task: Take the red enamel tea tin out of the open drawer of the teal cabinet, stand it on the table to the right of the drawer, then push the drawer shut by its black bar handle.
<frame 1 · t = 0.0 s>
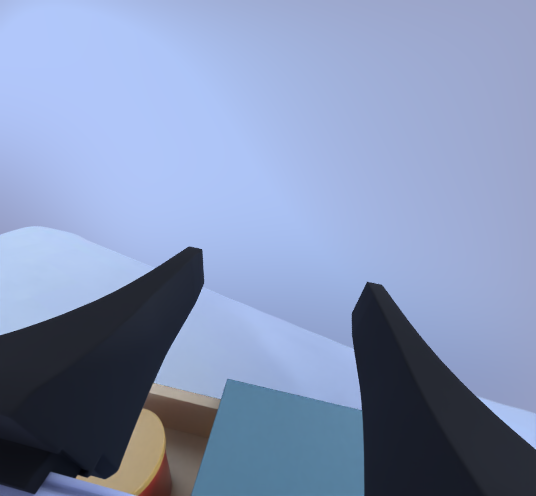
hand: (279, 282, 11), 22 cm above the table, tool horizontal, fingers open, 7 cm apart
tea tin: (140, 494, 19), point 2 cm above the table, touching drawer
drawer: (115, 478, 18), point 4 cm above the table, slide at 9.0 cm, touching tea tin
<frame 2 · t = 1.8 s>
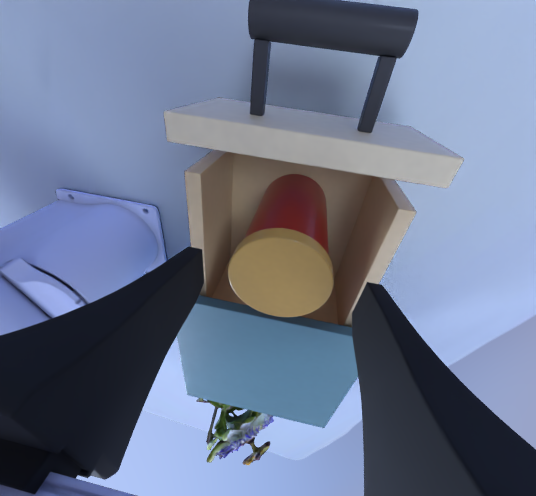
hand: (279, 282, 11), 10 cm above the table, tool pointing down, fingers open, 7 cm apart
tea tin: (294, 204, 17), point 2 cm above the table, touching drawer
drawer: (295, 197, 15), point 4 cm above the table, slide at 9.0 cm, touching tea tin
cabinet: (276, 294, 26), on the table
passion flower: (243, 381, 38), on the table
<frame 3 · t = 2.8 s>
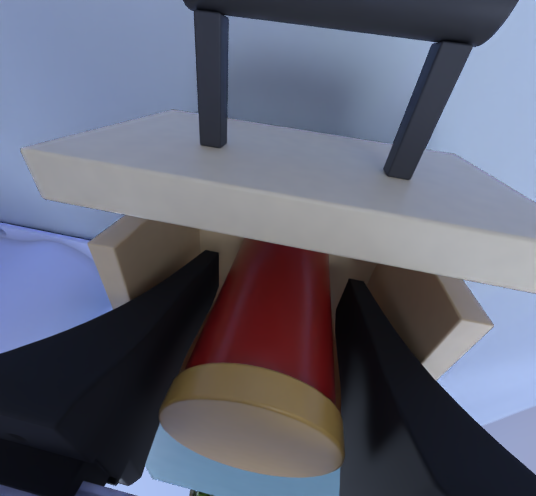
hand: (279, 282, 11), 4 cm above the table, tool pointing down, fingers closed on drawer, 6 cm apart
tea tin: (284, 255, 13), point 2 cm above the table, touching drawer
drawer: (283, 258, 10), point 4 cm above the table, slide at 9.0 cm, touching gripper, tea tin
cabinet: (266, 346, 21), on the table
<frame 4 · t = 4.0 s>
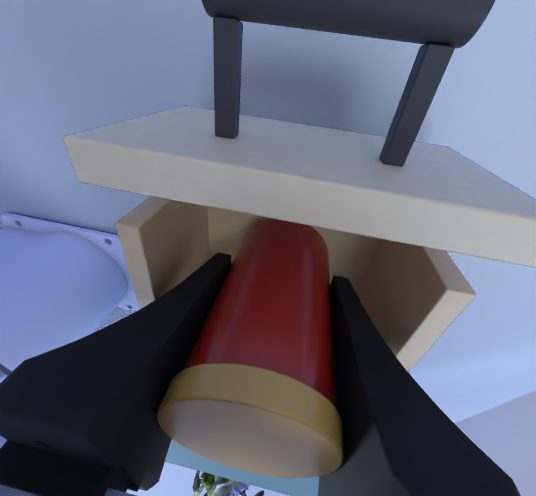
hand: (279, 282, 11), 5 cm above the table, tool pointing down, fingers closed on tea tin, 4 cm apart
tea tin: (283, 254, 13), point 3 cm above the table, touching gripper
drawer: (287, 244, 11), point 4 cm above the table, slide at 9.0 cm
cabinet: (269, 335, 22), on the table
passion flower: (235, 416, 34), on the table
when the fingers open (2 cm above the table, at t = 9.5 s): tea tin stays where it is, on the table.
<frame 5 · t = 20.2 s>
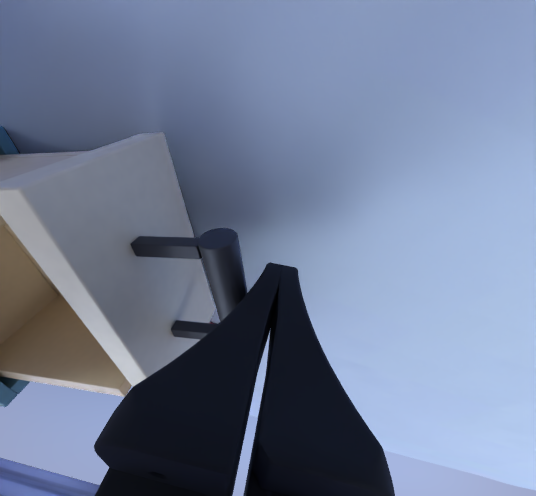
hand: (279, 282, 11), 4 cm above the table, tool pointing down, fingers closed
drawer: (92, 275, 12), point 4 cm above the table, slide at 8.6 cm, touching gripper
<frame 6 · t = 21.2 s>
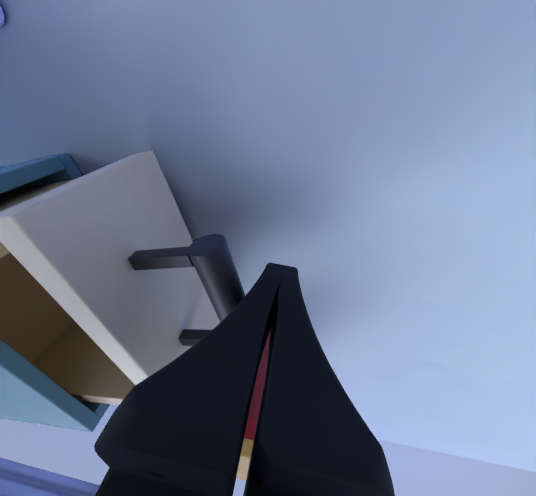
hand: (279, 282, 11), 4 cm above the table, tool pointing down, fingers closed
tea tin: (269, 345, 21), on the table
drawer: (102, 292, 13), point 4 cm above the table, slide at 4.5 cm, touching gripper
cabinet: (55, 255, 19), on the table
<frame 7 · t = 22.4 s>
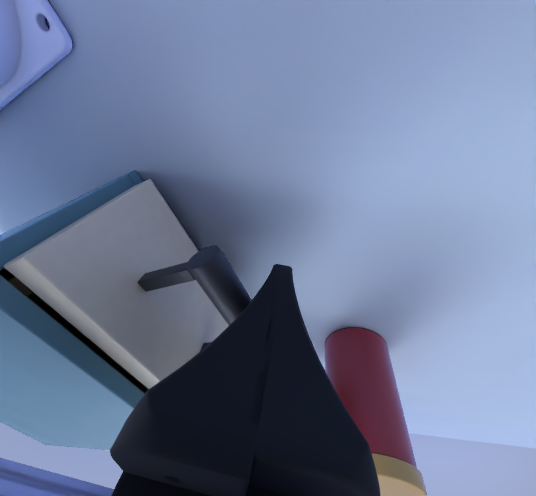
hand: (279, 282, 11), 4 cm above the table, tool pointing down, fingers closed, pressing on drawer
tea tin: (354, 346, 19), on the table
drawer: (127, 317, 14), point 4 cm above the table, slide at 0.0 cm, touching cabinet, gripper
cabinet: (127, 280, 19), on the table
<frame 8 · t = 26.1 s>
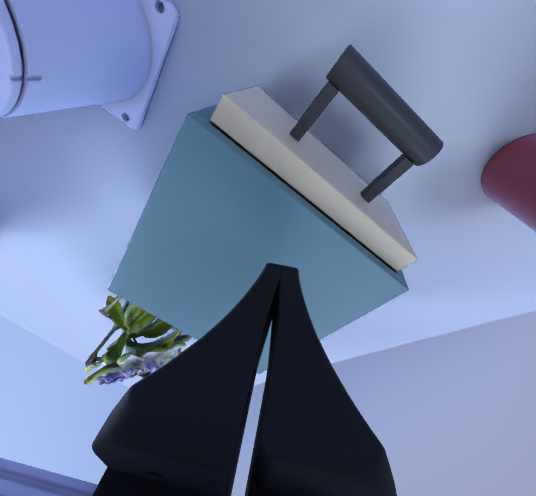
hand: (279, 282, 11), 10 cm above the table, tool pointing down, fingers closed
tea tin: (522, 169, 16), on the table
drawer: (283, 214, 16), point 4 cm above the table, slide at 0.0 cm
cabinet: (262, 221, 21), on the table
passion flower: (157, 310, 32), on the table
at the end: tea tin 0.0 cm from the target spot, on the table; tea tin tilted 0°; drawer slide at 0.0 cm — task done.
